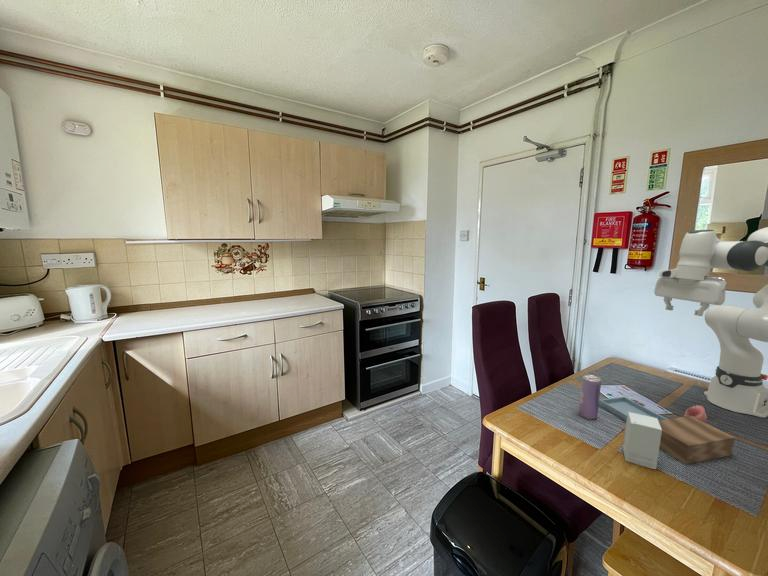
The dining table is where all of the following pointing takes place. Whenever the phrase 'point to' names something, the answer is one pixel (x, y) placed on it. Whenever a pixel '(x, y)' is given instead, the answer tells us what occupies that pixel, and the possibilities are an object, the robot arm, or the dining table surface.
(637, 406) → the grey-blue tray
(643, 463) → the supplement box
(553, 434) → the dining table surface
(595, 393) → the beverage can
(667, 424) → the cubby
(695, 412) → the flower
